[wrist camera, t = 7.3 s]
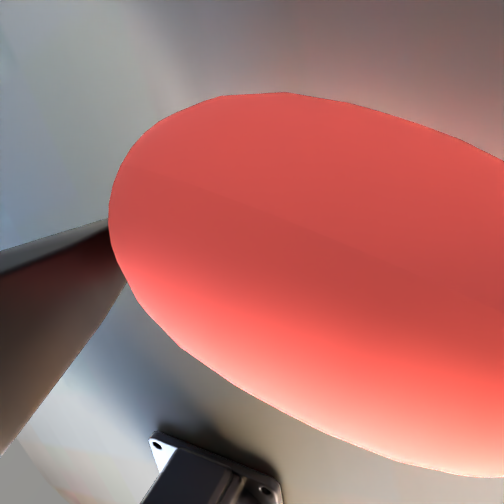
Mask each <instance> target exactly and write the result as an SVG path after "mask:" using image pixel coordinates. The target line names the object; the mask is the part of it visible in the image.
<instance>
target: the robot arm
mask: <svg viewBox="0 0 504 504" xmlns="http://www.w3.org/2000/svg"><path fill="white" fill-rule="evenodd" d="M126 283H127V280H126V278H125V276H124V274H123V272H122V270H121V268H120V266H119V264H118V263H117V260H116V257H115V254H114V251H113V248H112V245H111V241H110V234H109V227H108V218H106V219H103V220H99V221H96V222H93V223H90V224H86V225H83V226H80V227H77V228H73V229H70V230H67V231H64V232H61V233H57V234H54V235H51V236H48V237H44V238H41V239H38V240H35V241H31V242H28V243H25V244H22V245H19V246H15V247H12V248H9V249H6V250H2V251H0V458H1V456H2V455H3V454H4V452H5V451H6V450H7V448H8V447H9V446H10V444H11V443H12V442H13V440H14V439H15V438H16V436H17V435H18V434H19V432H20V431H21V430H22V428H23V427H24V426H25V424H26V423H27V422H28V420H29V419H30V418H31V416H32V415H33V414H34V413H35V411H36V410H37V409H38V407H39V406H40V405H41V403H42V402H43V401H44V399H45V398H46V397H47V395H48V394H49V393H50V391H51V390H52V389H53V387H54V386H55V385H56V383H57V382H58V381H59V379H60V378H61V377H62V375H63V374H64V373H65V371H66V370H67V369H68V367H69V366H70V365H71V363H72V362H73V361H74V359H75V358H76V357H77V356H78V354H79V353H80V352H81V350H82V349H83V348H84V346H85V345H86V344H87V342H88V341H89V340H90V338H91V337H92V336H93V334H94V333H95V332H96V330H97V329H98V327H99V326H100V325H101V323H102V322H103V320H104V319H105V317H106V316H107V314H108V312H109V311H110V309H111V307H112V306H113V304H114V303H115V301H116V299H117V298H118V296H119V294H120V293H121V291H122V290H123V288H124V286H125V285H126ZM148 442H149V445H150V447H151V450H152V453H153V455H154V458H155V461H156V463H157V466H158V469H159V471H160V474H159V475H158V477H157V478H156V480H155V481H154V483H153V484H152V486H151V487H150V489H149V490H148V492H147V493H146V495H145V497H144V498H143V500H142V501H141V503H140V504H283V500H282V493H281V486H280V484H279V483H278V482H277V481H276V480H275V479H274V478H272V477H270V476H268V475H266V474H263V473H261V472H258V471H256V470H253V469H251V468H248V467H246V466H243V465H241V464H238V463H236V462H233V461H231V460H229V459H226V458H224V457H221V456H219V455H216V454H214V453H211V452H209V451H206V450H204V449H201V448H199V447H196V446H194V445H191V444H189V443H186V442H184V441H181V440H179V439H176V438H174V437H172V436H169V435H167V434H164V433H162V432H159V431H154V432H153V434H152V435H151V436H150V438H149V439H148Z"/></svg>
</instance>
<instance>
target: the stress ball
mask: <svg viewBox="0 0 504 504" xmlns="http://www.w3.org/2000/svg"><path fill="white" fill-rule="evenodd" d="M108 227H109V234H110V241H111V245H112V248H113V251H114V254H115V257H116V260H117V263H118V264H119V266H120V268H121V270H122V272H123V274H124V276H125V278H126V280H127V282H128V284H129V285H130V287H131V289H132V291H133V293H134V295H135V297H136V299H137V301H138V302H139V304H140V305H141V306H142V307H143V308H144V309H145V311H146V312H147V313H148V314H149V315H150V316H151V317H152V318H153V319H154V321H155V322H156V323H157V324H158V325H159V326H160V327H161V328H162V329H163V330H164V331H165V332H166V333H167V334H168V335H169V336H170V337H171V338H172V339H173V340H174V341H175V342H176V343H177V344H178V345H179V346H180V347H181V348H182V349H184V350H185V351H187V352H188V353H189V354H191V355H192V356H194V357H195V358H197V359H198V360H199V361H201V362H202V363H204V364H205V365H207V366H208V367H210V368H211V369H212V370H214V371H215V372H217V373H218V374H220V375H221V376H222V377H224V378H225V379H227V380H228V381H230V382H231V383H233V384H234V385H235V386H237V387H239V388H241V389H242V390H244V391H246V392H248V393H250V394H251V395H253V396H255V397H257V398H258V399H260V400H262V401H264V402H266V403H268V404H269V405H271V406H273V407H275V408H277V409H279V410H281V411H283V412H285V413H286V414H288V415H290V416H292V417H294V418H296V419H298V420H300V421H302V422H304V423H306V424H308V425H310V426H312V427H314V428H316V429H318V430H320V431H322V432H324V433H326V434H329V435H331V436H334V437H336V438H339V439H341V440H344V441H346V442H349V443H351V444H354V445H357V446H359V447H362V448H364V449H367V450H369V451H372V452H374V453H377V454H379V455H382V456H385V457H387V458H390V459H393V460H396V461H399V462H402V463H406V464H411V465H415V466H420V467H425V468H429V469H434V470H439V471H443V472H448V473H453V474H457V475H462V476H473V477H504V161H503V160H501V159H499V158H497V157H495V156H493V155H491V154H489V153H487V152H485V151H483V150H481V149H479V148H477V147H475V146H473V145H471V144H469V143H467V142H465V141H463V140H460V139H458V138H455V137H453V136H450V135H447V134H445V133H442V132H439V131H437V130H434V129H431V128H428V127H426V126H423V125H420V124H417V123H414V122H411V121H408V120H405V119H402V118H399V117H396V116H393V115H389V114H386V113H383V112H380V111H376V110H373V109H369V108H366V107H362V106H359V105H355V104H351V103H346V102H340V101H335V100H329V99H323V98H317V97H311V96H306V95H300V94H294V93H288V92H279V93H261V94H244V95H227V96H219V97H216V98H213V99H209V100H206V101H203V102H201V103H198V104H196V105H193V106H191V107H188V108H186V109H184V110H181V111H179V112H176V113H174V114H172V115H170V116H168V117H166V118H164V119H163V120H161V121H159V122H158V123H156V124H155V125H154V126H153V127H151V128H150V129H149V130H147V131H146V132H145V133H144V134H143V135H142V136H141V137H140V138H139V140H138V141H137V142H136V143H135V144H134V145H133V146H132V147H131V149H130V151H129V152H128V154H127V155H126V157H125V159H124V160H123V162H122V164H121V165H120V168H119V170H118V173H117V175H116V178H115V181H114V183H113V187H112V192H111V196H110V201H109V213H108Z"/></svg>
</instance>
